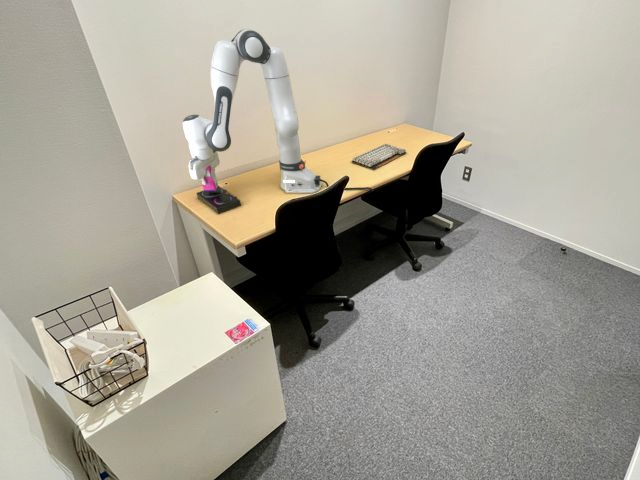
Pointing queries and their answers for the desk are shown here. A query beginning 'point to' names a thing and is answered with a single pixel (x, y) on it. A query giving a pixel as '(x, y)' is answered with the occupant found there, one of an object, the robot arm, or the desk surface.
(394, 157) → the mechanical keyboard
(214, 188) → the supplement box
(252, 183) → the desk surface
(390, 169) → the desk surface
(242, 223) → the desk surface
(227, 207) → the hot plate
